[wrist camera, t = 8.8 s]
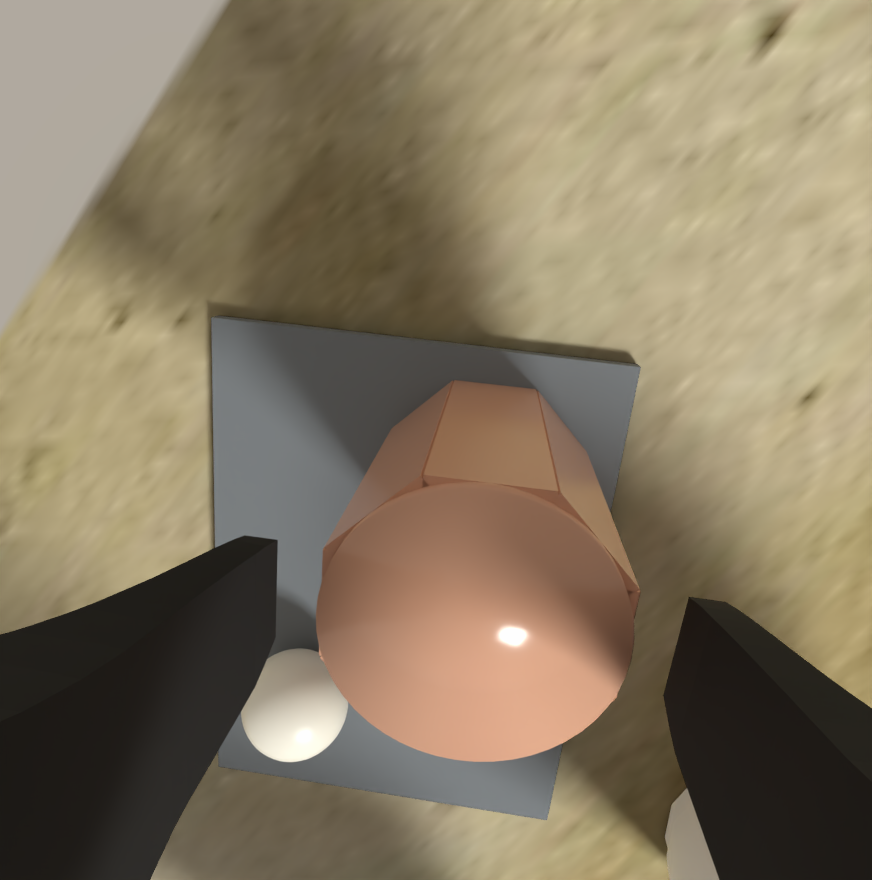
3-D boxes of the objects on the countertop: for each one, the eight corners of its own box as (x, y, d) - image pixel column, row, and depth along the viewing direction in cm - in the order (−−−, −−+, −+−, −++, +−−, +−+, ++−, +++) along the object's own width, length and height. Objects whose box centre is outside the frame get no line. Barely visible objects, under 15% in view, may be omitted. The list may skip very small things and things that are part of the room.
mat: (546, 809, 21) (546, 820, 20) (223, 757, 21) (218, 766, 21) (637, 363, 16) (640, 367, 16) (217, 315, 17) (211, 317, 16)
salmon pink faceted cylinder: (565, 575, 18) (602, 782, 11) (381, 551, 18) (311, 738, 11) (597, 396, 16) (665, 512, 9) (394, 373, 16) (321, 469, 10)
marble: (355, 715, 20) (331, 795, 17) (263, 701, 20) (223, 778, 17) (361, 635, 19) (336, 706, 16) (263, 621, 19) (222, 688, 16)
